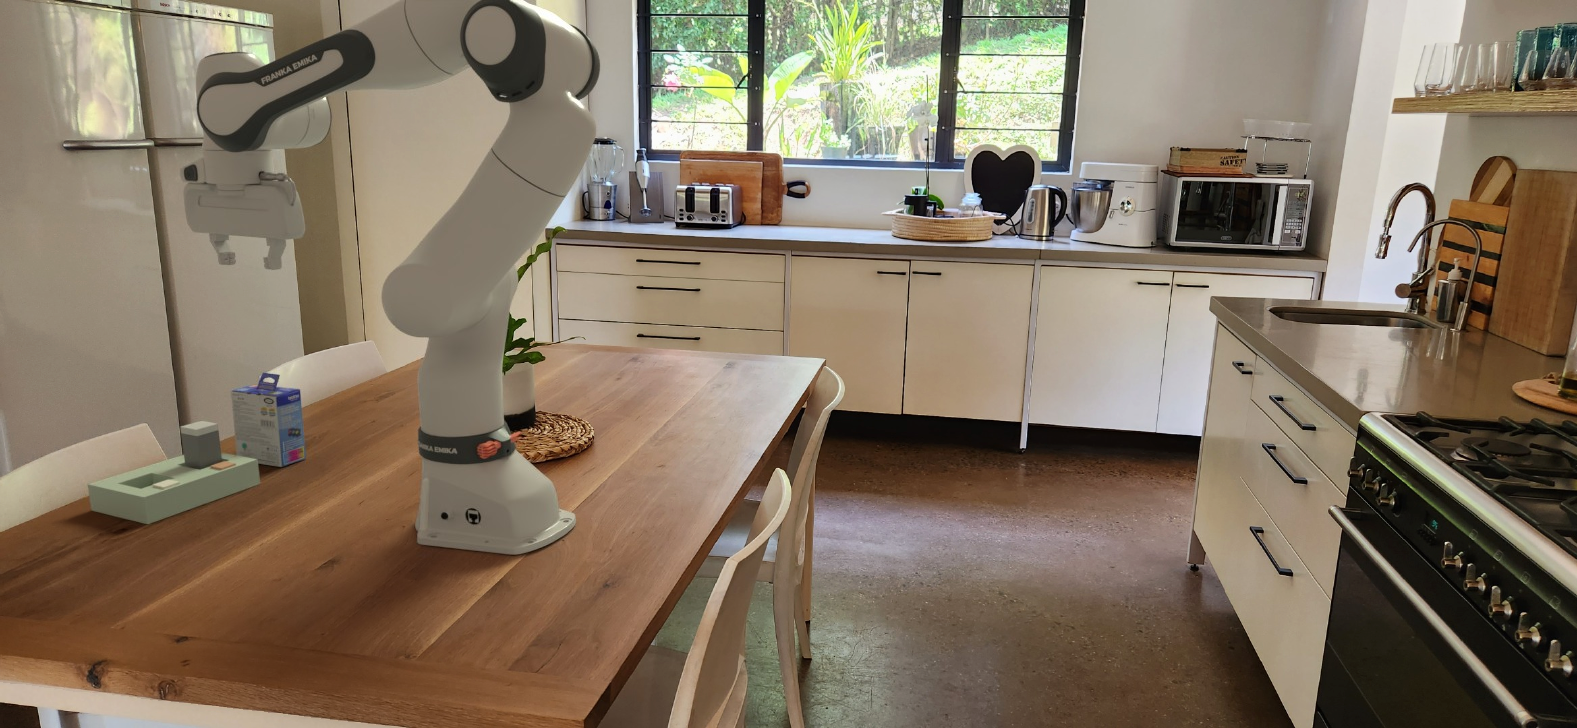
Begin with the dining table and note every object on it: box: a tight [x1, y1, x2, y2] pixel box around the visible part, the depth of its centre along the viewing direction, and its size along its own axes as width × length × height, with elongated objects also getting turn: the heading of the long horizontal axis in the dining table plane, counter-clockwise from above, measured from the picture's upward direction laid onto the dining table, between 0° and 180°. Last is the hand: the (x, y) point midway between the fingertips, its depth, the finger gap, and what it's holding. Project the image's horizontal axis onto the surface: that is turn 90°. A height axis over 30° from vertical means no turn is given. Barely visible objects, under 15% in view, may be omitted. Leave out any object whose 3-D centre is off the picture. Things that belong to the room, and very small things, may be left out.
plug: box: [179, 420, 222, 470], centre depth 151 cm, size 4×4×10 cm
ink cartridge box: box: [230, 372, 307, 468], centre depth 164 cm, size 10×6×14 cm, turn 71°
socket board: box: [87, 451, 261, 525], centre depth 148 cm, size 12×18×4 cm, turn 157°
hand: (250, 267), depth 145 cm, fingers open, 8 cm apart
